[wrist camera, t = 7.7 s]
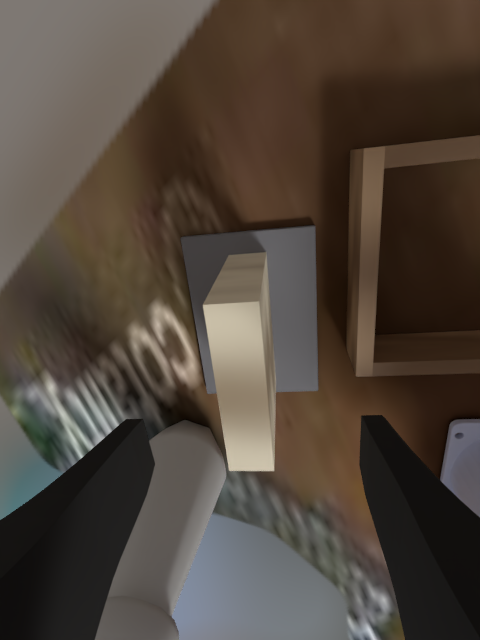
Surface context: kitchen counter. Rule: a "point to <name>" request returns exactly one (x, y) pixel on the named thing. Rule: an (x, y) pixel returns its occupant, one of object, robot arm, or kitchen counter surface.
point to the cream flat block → (244, 360)
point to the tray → (363, 260)
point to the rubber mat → (284, 288)
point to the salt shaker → (164, 535)
